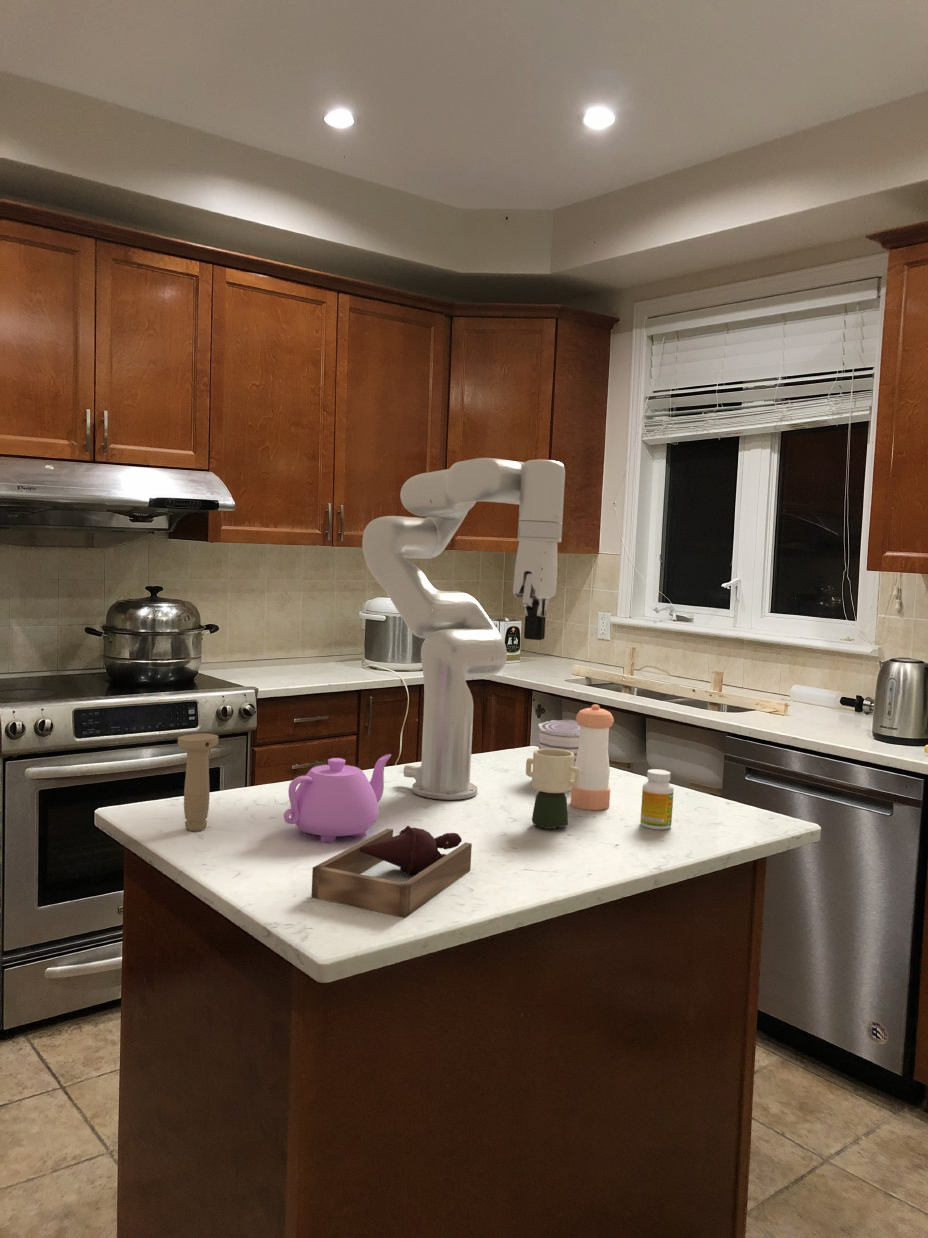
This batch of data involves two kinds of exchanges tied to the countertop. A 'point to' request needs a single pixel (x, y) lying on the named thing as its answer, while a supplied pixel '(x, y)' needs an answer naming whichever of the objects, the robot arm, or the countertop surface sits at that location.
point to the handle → (197, 778)
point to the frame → (352, 888)
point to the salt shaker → (593, 759)
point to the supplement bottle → (657, 800)
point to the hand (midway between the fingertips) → (534, 638)
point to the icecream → (412, 849)
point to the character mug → (552, 785)
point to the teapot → (336, 799)
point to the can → (560, 735)
